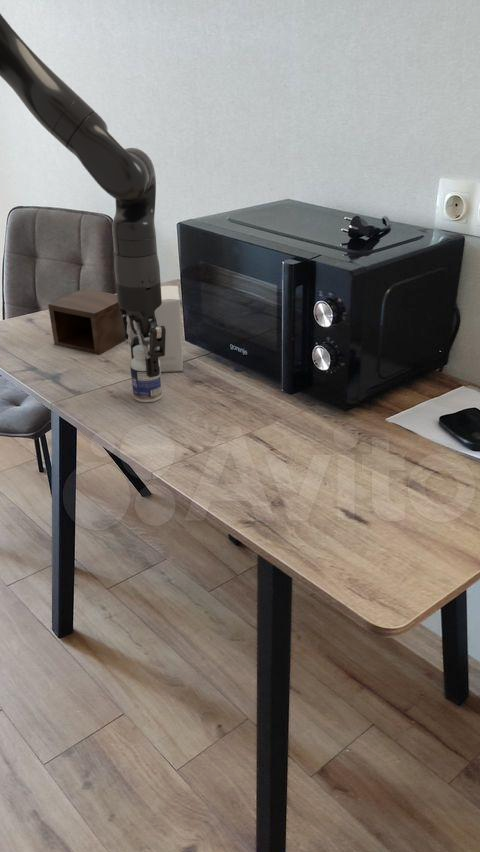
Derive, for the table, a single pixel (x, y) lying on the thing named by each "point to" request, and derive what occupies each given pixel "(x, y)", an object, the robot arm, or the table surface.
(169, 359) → the white product box
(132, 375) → the pill bottle
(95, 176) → the robot arm
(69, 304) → the shelf
